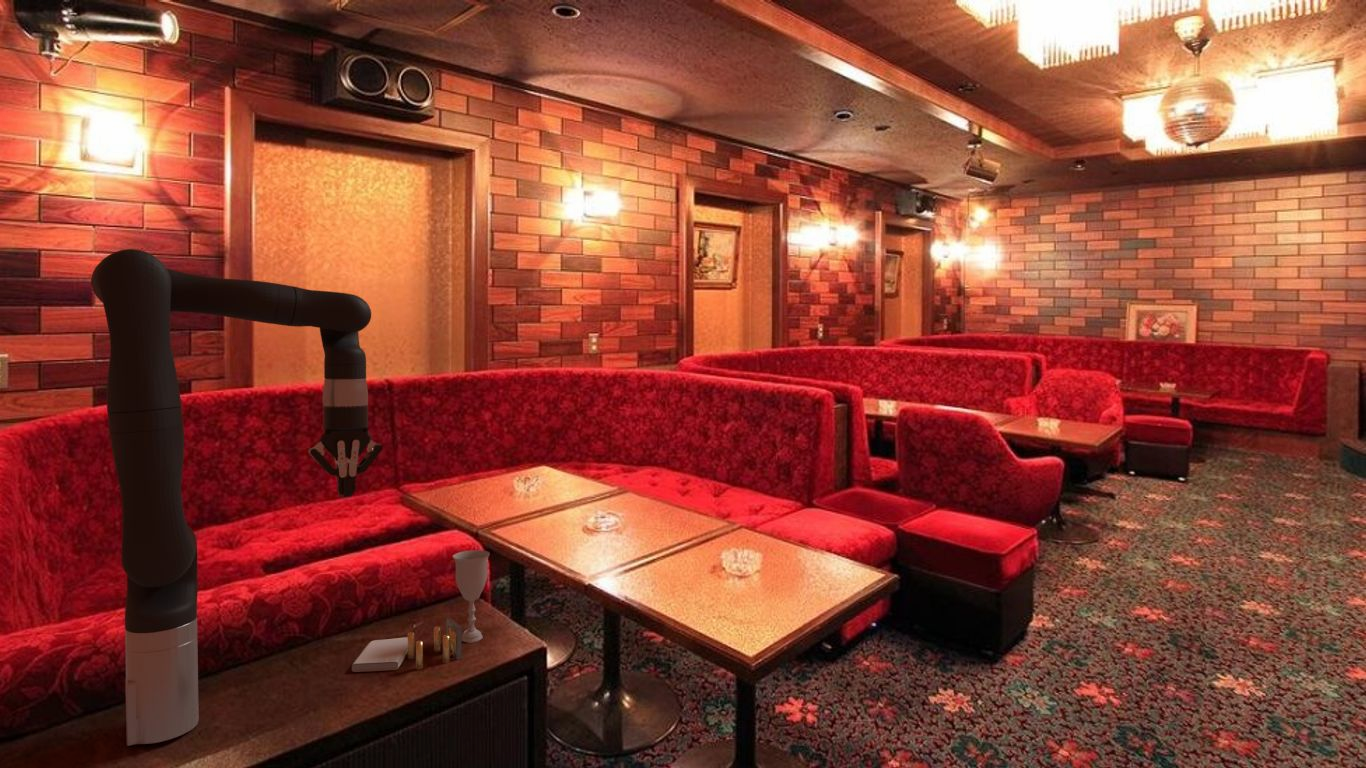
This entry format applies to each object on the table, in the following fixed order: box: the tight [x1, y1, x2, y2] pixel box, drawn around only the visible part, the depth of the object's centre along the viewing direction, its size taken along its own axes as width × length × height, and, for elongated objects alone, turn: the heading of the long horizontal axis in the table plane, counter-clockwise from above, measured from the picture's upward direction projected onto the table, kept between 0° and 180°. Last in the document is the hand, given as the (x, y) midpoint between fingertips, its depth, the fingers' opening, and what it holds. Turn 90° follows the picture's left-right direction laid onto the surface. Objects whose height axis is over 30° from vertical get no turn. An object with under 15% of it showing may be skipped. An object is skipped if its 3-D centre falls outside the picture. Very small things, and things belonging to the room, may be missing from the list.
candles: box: [407, 617, 463, 671], centre depth 137 cm, size 9×6×6 cm
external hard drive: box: [351, 636, 408, 673], centre depth 138 cm, size 2×8×12 cm
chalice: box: [452, 549, 490, 644], centre depth 145 cm, size 7×7×18 cm
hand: (346, 496), depth 133 cm, fingers closed
